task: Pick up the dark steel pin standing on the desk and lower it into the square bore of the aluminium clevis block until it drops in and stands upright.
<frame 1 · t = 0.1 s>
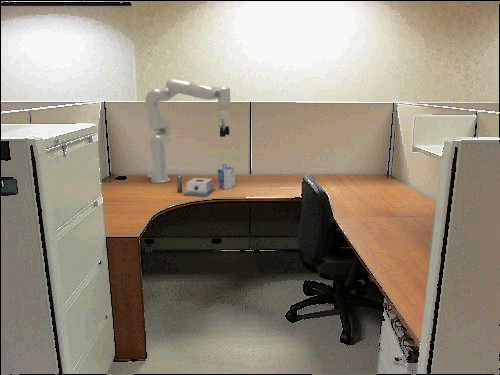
hand: (224, 135, 273), 31 cm above the table, tool pointing down, fingers open, 9 cm apart
clevis block: (200, 192, 261), on the table
ink cartridge box: (226, 188, 272), on the table
steel pin: (179, 192, 262), on the table
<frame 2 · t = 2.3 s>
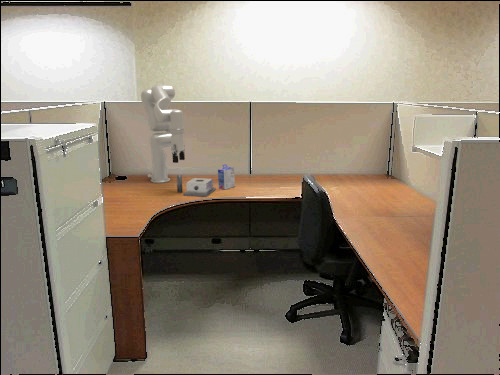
hand: (178, 161, 257), 19 cm above the table, tool pointing down, fingers open, 9 cm apart
nothing on the table moved.
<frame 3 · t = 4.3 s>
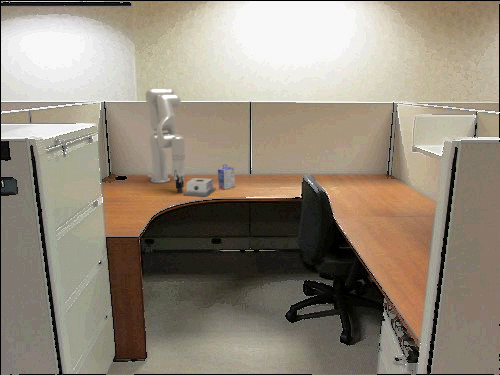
hand: (179, 187, 261), 3 cm above the table, tool pointing down, fingers closed on steel pin, 3 cm apart
steel pin: (179, 192, 262), on the table, touching gripper
everything else where it was.
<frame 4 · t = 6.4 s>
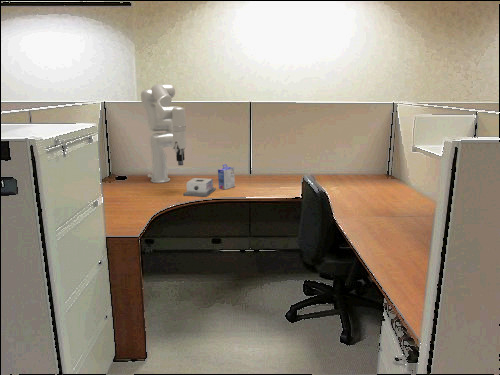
hand: (180, 160, 257), 19 cm above the table, tool pointing down, fingers closed on steel pin, 3 cm apart
steel pin: (180, 164, 258), point 17 cm above the table, touching gripper
everything else where it was.
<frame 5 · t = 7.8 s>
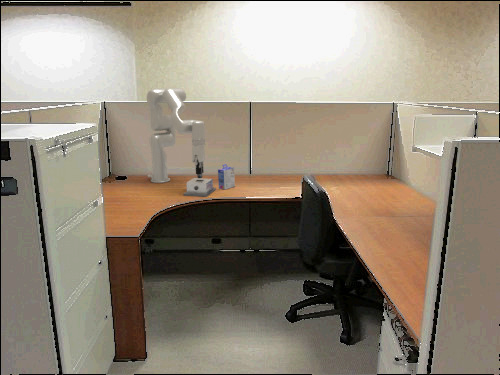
hand: (199, 173, 258), 12 cm above the table, tool pointing down, fingers closed on steel pin, 3 cm apart
steel pin: (199, 177, 259), point 9 cm above the table, touching gripper
everything else where it was.
when the fingers open (8 cm above the table, at t = 8.8 s): steel pin drops 4 cm, resting on clevis block.
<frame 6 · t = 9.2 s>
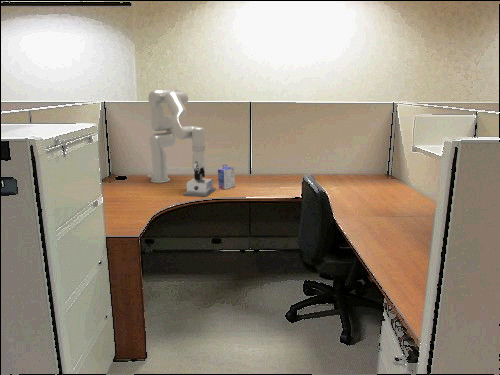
hand: (199, 178, 259), 9 cm above the table, tool pointing down, fingers open, 7 cm apart
steel pin: (200, 190, 261), point 1 cm above the table, touching clevis block
everything else where it was.
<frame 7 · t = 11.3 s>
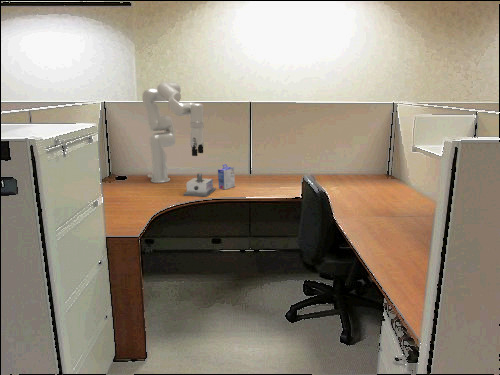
hand: (197, 154, 258), 22 cm above the table, tool pointing down, fingers open, 9 cm apart
nothing on the table moved.
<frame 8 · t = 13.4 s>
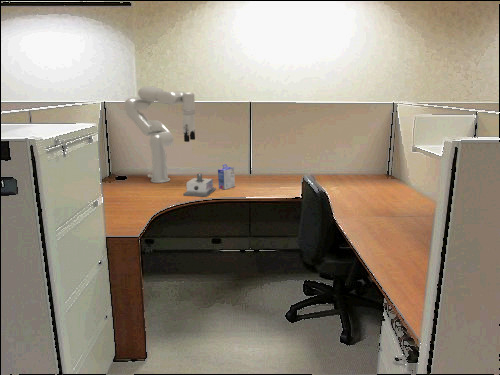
hand: (189, 140, 273), 28 cm above the table, tool pointing down, fingers open, 9 cm apart
nothing on the table moved.
at the end: steel pin 0.1 cm off-centre on the clevis block, point 1.2 cm above the clevis block's base; steel pin tilted 0°; the gripper is holding nothing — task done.
